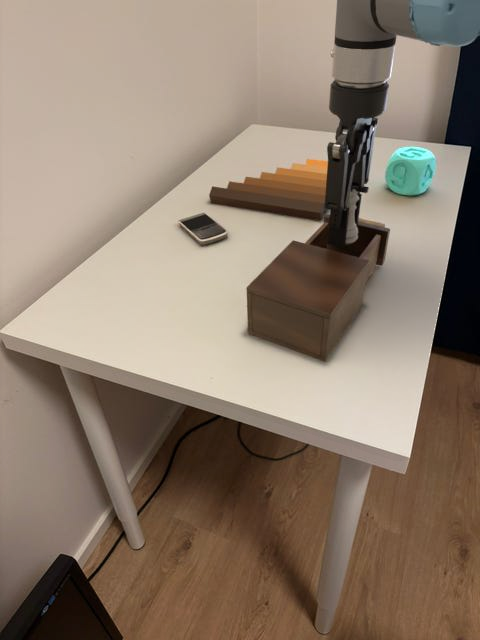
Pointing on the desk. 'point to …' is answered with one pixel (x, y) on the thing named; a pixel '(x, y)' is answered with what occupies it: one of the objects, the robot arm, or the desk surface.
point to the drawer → (358, 242)
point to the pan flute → (280, 191)
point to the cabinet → (306, 298)
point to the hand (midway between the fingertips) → (342, 236)
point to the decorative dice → (410, 170)
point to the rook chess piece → (352, 218)
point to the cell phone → (203, 228)
